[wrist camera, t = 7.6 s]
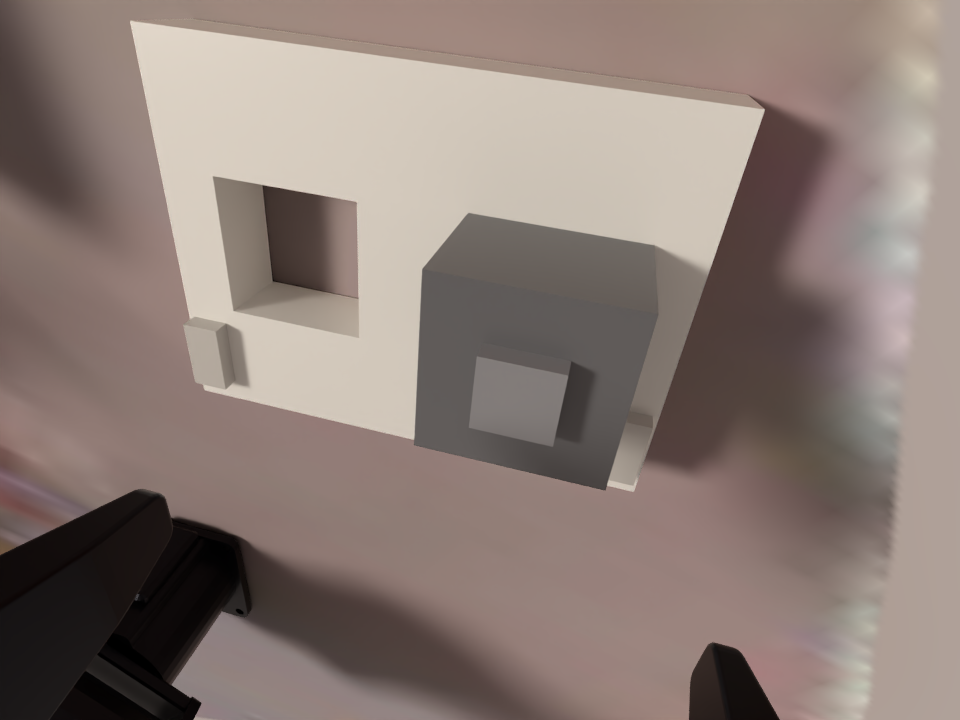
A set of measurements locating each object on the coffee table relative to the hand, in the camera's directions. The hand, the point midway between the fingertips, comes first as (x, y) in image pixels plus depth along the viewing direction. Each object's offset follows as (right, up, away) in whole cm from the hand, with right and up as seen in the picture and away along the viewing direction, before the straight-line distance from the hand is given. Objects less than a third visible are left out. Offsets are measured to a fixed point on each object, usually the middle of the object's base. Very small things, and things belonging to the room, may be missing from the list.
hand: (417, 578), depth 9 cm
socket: (0, +7, +10) cm, 12 cm away
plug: (+3, +6, +10) cm, 12 cm away
